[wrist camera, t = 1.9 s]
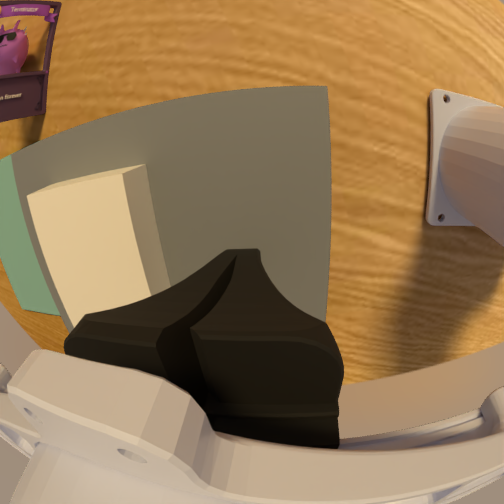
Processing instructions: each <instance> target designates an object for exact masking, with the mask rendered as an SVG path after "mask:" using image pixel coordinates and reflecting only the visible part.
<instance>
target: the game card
mask: <svg viewBox="0 0 504 504" xmlns="http://www.w3.org/2000/svg"><path fill="white" fill-rule="evenodd" d="M50 8H54V12H53V14H52V13H49V10H50ZM60 8H61V2H54V1H36V0H8V1H0V18H2V17H9V16H18V15H38V16H45V19H44V20H45V21H48V22H51V25H50V29H49V34H48V39H47V45H46V51H45V58H44V65H43V70H42V71H35V72H23V73H20V69H21V67H22V66H23V64H24V62H25V60H26V57H27V53H28V47H29V43H28V38H27V35H26V34H27V33H25V30H26V28H27V27H26V28H25V29H24V30H20V29H17V27H18V25H19V22H20V20H19V21H17V23H16V24H15V26H14V28H13V29H9V30H7V31H4V26H3V25H2V26H1V29H0V122H4V121H9V120H13V119H18V118H24V117H29V116H35V115H41V114H44V113H45V112H46V100H47V86H48V75H49V67H50V59H51V52H52V46H53V40H54V35H55V30H56V25H57V21H58V16H59V12H60ZM16 72H17V73H16Z"/></svg>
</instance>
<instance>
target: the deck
mask: <svg viewBox="0 0 504 504" xmlns="http://www.w3.org/2000/svg"><path fill="white" fill-rule="evenodd" d="M11 159H12V165H13V171H14V177H15V182H16V187H17V191H18V196H19V200H20V204H21V208H22V212H23V216H24V219H25V223H26V226H27V230H28V233H29V236H30V240H31V243H32V246H33V249H34V252H35V255H36V258H37V260H38V263H39V266H40V268H41V271H42V274H43V276H44V279H45V281H46V284H47V286H48V289H49V291H50V293H51V296H52V298H53V300H54V302H55V305H56V307H57V309H58V311H59V313H60V315H61V317H62V319H63V322H64V324H65V326H66V328H67V329H68V331H69V333H71V331H72V330H73V329H74V326H73V324H72V322H71V320H70V318H69V316H68V314H67V312H66V310H65V307H64V305H63V303H62V301H61V298H60V296H59V294H58V291H57V289H56V287H55V284H54V282H53V279H52V276H51V274H50V271H49V269H48V266H47V263H46V260H45V258H44V255H43V252H42V249H41V246H40V243H39V239H38V236H37V233H36V230H35V226H34V223H33V219H32V215H31V212H30V208H29V204H28V200H27V195H29V194H31V193H34V192H36V191H38V190H40V189H42V188H45V187H47V186H49V185H52V184H55V183H59V182H63V181H67V180H71V179H75V178H79V177H83V176H87V175H92V174H96V173H101V172H106V171H111V170H116V169H121V168H126V167H132V166H137V165H143V164H146V169H147V175H148V181H149V187H150V193H151V198H152V204H153V209H154V214H155V219H156V224H157V229H158V234H159V239H160V243H161V248H162V252H163V257H164V261H165V265H166V269H167V274H168V278H169V282H170V286H171V287H172V286H174V285H175V284H177V283H179V282H181V281H182V280H184V279H186V278H187V277H189V276H190V275H191V274H193V273H194V272H196V271H197V270H199V269H200V268H202V267H203V266H204V265H206V264H207V263H208V262H210V261H211V260H212V259H214V258H215V257H216V256H218V255H219V254H220V253H222V252H223V251H225V250H226V249H252V248H258V249H259V250H260V252H261V262H262V265H263V267H264V269H265V271H266V273H267V275H268V276H269V278H270V280H271V281H272V283H273V284H274V285H275V287H276V288H277V289H278V290H279V292H280V293H281V294H282V295H283V296H284V297H285V298H286V299H287V300H288V301H290V302H291V303H292V304H293V305H294V306H296V307H297V308H299V309H300V310H302V311H303V312H305V313H307V314H309V315H311V316H313V317H315V318H317V319H319V320H322V321H324V322H325V320H326V309H327V296H328V282H329V265H330V242H331V142H330V120H329V103H328V89H327V86H283V87H265V88H252V89H241V90H232V91H223V92H216V93H209V94H202V95H196V96H190V97H184V98H179V99H174V100H169V101H164V102H160V103H155V104H151V105H147V106H142V107H138V108H135V109H131V110H127V111H123V112H120V113H116V114H113V115H110V116H106V117H103V118H100V119H97V120H94V121H91V122H88V123H85V124H82V125H79V126H76V127H74V128H71V129H68V130H66V131H63V132H60V133H58V134H55V135H53V136H51V137H48V138H46V139H43V140H41V141H39V142H37V143H34V144H32V145H30V146H28V147H26V148H23V149H21V150H19V151H17V152H15V153H13V154H11Z"/></svg>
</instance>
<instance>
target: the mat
mask: <svg viewBox="0 0 504 504" xmlns="http://www.w3.org/2000/svg"><path fill="white" fill-rule="evenodd" d="M38 142H39V141H38ZM36 143H37V142H36ZM31 145H32V144H31ZM29 146H30V145H29ZM27 147H28V146H27ZM25 148H26V147H25ZM0 258H1V260H2V263H3V266H4V268H5V271H6V273H7V276H8V278H9V281H10V283H11V285H12V288H13V290H14V292H15V294H16V297H17V299H18V301H19V303H20V305H21V307H22V309H25V310H30V311H36V312H41V313H47V314H53V315H59V316H61V315H60V313H59V311H58V309H57V307H56V305H55V302H54V300H53V298H52V296H51V293H50V291H49V289H48V286H47V284H46V281H45V279H44V276H43V274H42V271H41V268H40V266H39V263H38V260H37V258H36V255H35V252H34V249H33V246H32V243H31V240H30V236H29V233H28V230H27V226H26V223H25V219H24V216H23V212H22V208H21V204H20V200H19V196H18V191H17V187H16V182H15V177H14V171H13V165H12V159H11V155H9V156H7V157H5V158H3V159H1V160H0Z"/></svg>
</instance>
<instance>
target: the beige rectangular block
mask: <svg viewBox="0 0 504 504" xmlns="http://www.w3.org/2000/svg"><path fill="white" fill-rule="evenodd" d="M27 200H28V204H29V208H30V212H31V215H32V219H33V223H34V226H35V230H36V233H37V236H38V239H39V243H40V246H41V249H42V252H43V255H44V258H45V260H46V263H47V266H48V269H49V271H50V274H51V276H52V279H53V282H54V284H55V287H56V289H57V291H58V294H59V296H60V298H61V301H62V303H63V305H64V307H65V310H66V312H67V314H68V316H69V318H70V320H71V322H72V324H73V326H74V328H75V326H76V325H77V324H78V322H79V321H80V320H81V319H82V317H83V316H84V315H85V314H89V313H94V312H99V311H104V310H109V309H113V308H117V307H121V306H124V305H128V304H131V303H134V302H137V301H140V300H143V299H145V298H147V297H150V296H152V295H155V294H157V293H159V292H162V291H164V290H166V289H168V288H170V287H171V286H170V282H169V278H168V274H167V269H166V265H165V261H164V257H163V252H162V248H161V243H160V239H159V234H158V229H157V224H156V219H155V214H154V209H153V204H152V198H151V193H150V187H149V181H148V175H147V169H146V164H143V165H137V166H132V167H126V168H121V169H116V170H111V171H106V172H101V173H96V174H92V175H87V176H83V177H79V178H75V179H71V180H67V181H63V182H59V183H55V184H52V185H49V186H47V187H45V188H42V189H40V190H38V191H36V192H34V193H31V194H29V195H27Z"/></svg>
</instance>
